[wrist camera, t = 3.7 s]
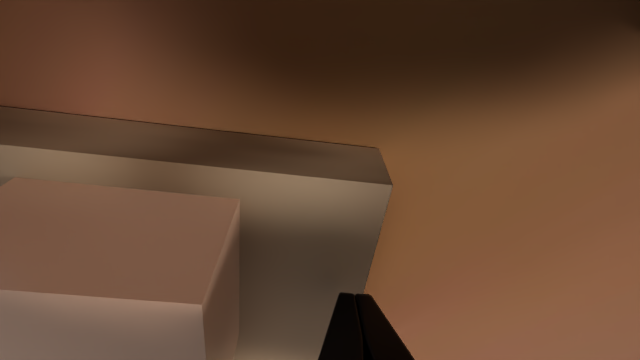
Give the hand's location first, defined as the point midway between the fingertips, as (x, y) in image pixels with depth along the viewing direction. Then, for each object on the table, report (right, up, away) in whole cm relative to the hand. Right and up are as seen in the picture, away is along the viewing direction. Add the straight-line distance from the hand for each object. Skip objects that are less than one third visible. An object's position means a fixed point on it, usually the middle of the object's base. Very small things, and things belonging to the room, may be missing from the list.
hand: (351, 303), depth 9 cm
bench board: (-5, -1, +4) cm, 7 cm away
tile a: (-5, +1, 0) cm, 6 cm away
